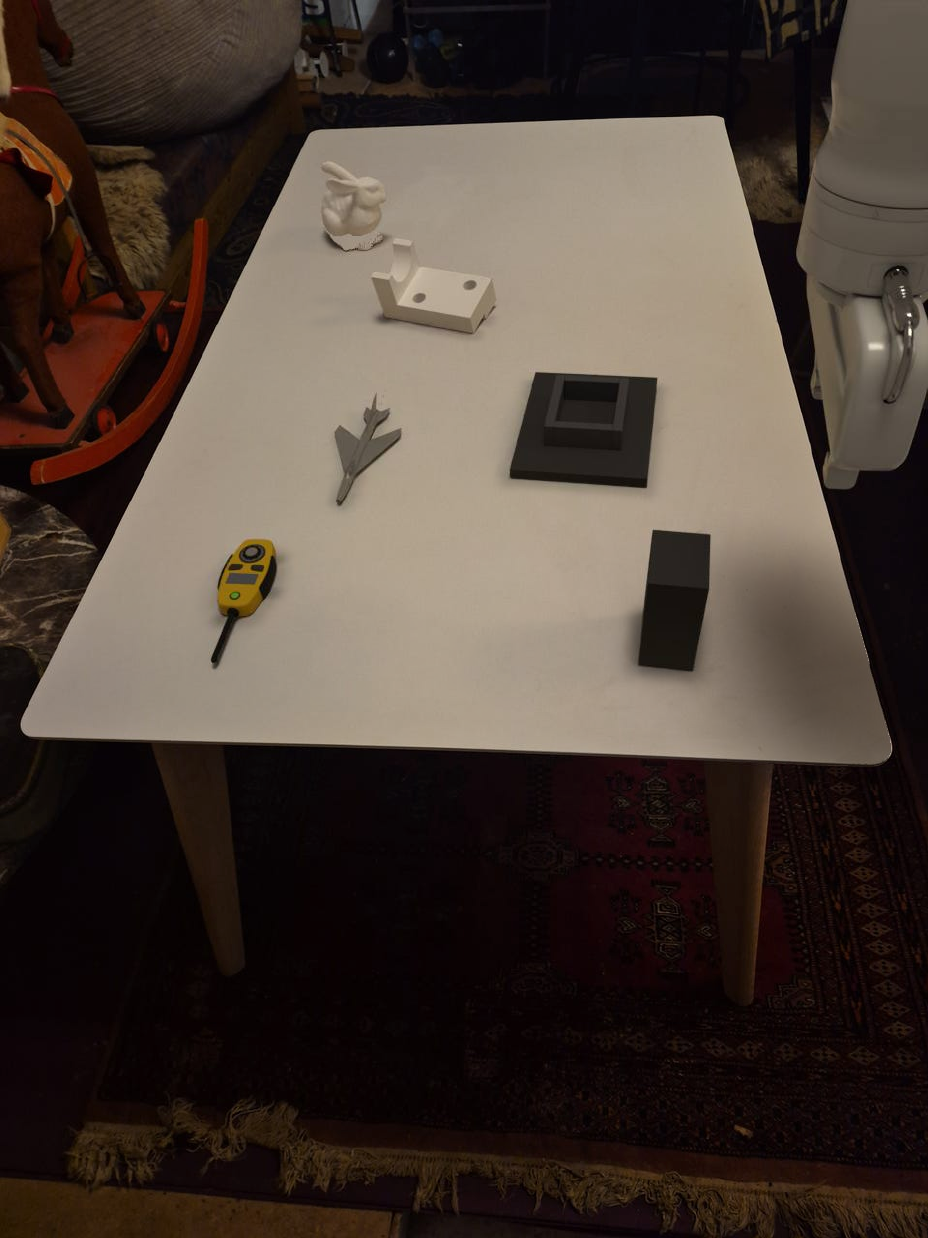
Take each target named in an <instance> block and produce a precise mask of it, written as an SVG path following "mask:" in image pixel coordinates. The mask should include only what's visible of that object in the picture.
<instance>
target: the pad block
mask: <svg viewBox="0 0 928 1238" xmlns="http://www.w3.org/2000/svg"><path fill="white" fill-rule="evenodd" d="M711 537H712V535H711V534H710V533H700V532H698V533H697V532H690V531H689V532H687V531H676V530H675V531H674V530H662V529H652V530H651V537H650V538H651V539H650V547H649V554H648V555H649V557H648V565H647V573H646V582H645V588H644V589H645V590H644V599H643V605H642V606H643V607H642V617H641V628H640V629H641V630H640V637H639V638H640V640H639V649H638V660H637V664H638V666H641V667H651V668H659V669H671V670H679V671H688V672H693V671H694V667H695V663H696V658H697V653H698V647H699V644H700V643H699V642H700V638H701V633H702V628H703V623H704V617H705V612H706V608H707V602H708V598H709V592H710V579H711V577H710V576H711V540H712V539H711Z"/></svg>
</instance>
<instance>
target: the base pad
mask: <svg viewBox="0 0 928 1238" xmlns="http://www.w3.org/2000/svg"><path fill="white" fill-rule="evenodd" d="M657 387H658V377H654V376H633V375H632V376H631V375H630V376H629V375H609V374H590V373H589V374H587V373H567V372H547V371H545V372H543V371H535V372H534V376H533V379H532V383H531V387H530V390H529V395H528V398H527V403H526V406H525V410H524V414H523V417H522V421H521V425H520V429H519V433H518V436H517V437H518V438H517V441H516V443H515V448H514V452H513V456H512V459H511V463H510V466H509V478H511V479H518V480H535V481H548V482H549V481H550V482H564V483H576V484H577V483H578V484H593V485H604V486H605V485H606V486H619V487H633V488H647V487H648V478H649V477H648V476H649V467H650V458H651V449H652V438H653V437H652V436H653V427H654V419H655V409H656V399H657V398H656V397H657V390H658V389H657Z"/></svg>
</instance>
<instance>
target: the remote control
mask: <svg viewBox="0 0 928 1238" xmlns="http://www.w3.org/2000/svg"><path fill="white" fill-rule="evenodd" d="M277 569H278V563H277V553H276V549H275V546H274V543H273V542H272V540H269V539H264V538H249V539H246V540H244V541H243V542H242V543H240V545H239V546H238V547H237V548H236V550H235V551H234V553H231V554H230V556H229V557H228V559H227V561H226V562H225V564H224V566H223V567H222V569H221V572H220V576H219V578H218V582H217V586H216V587H217V599H216V602H217V605H218V608H219V610H220V612H221V613H222V614H223V615H225V616H227V618H226V620H225V622H224V625H223V628H222V630H221V633H220V635H219V637H218V639H217V642H216V646H215V648H214V650H213V653H212V655H211V657H210V662H211V663H212V664H216V663H217V662H218V660H219V657H220V655H221V652H222V650H223V647H224V645H225V642H226V640H227V637H228V635H229V632H230V630H231V628H232V625H233V623H234V620H235V619H237V618H238V617H247V616H251V615H252V614H254V612H255V611H256V610H257V608H258V607H259V605H260V604H261V602H262V601H263V600H265V599H266V598H267V596H268V594H269V593H270V590H271V588H272V586H273V584H274V582H275V579H276V574H277Z"/></svg>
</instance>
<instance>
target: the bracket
mask: <svg viewBox="0 0 928 1238" xmlns="http://www.w3.org/2000/svg"><path fill="white" fill-rule="evenodd" d="M392 249H393V259H392V264H391V268H390V270H389V273H386V272H381V271H380V272H379V271H374V272H373V273H372V275H371V276H370V277H371V282H372V284H373V286H374V289H375V292H376V295H377V298H378V302H379V303H380V306H381V309H382V313H383V315H384V318H386V319H387V318H388V319H393V320H398V321H403V322H409V323H414V324H419V325H425V326H431V327H434V328H435V327H436V328H442V329H447V330H453V331H458V332H462V333H467V334H475V331H476V330H477V329H478V327H479V326H480V323H481V321H482V320H487V318H488V316H489V315H490V312H491V311H492V309H493V307H494V305H495V304H496V301H497V296H496V290H495V286H494V281H493V277H486V276H483V275H482V276H481V275H475V274H469V273H463V272H458V271H457V272H456V271H452V270H451V271H450V270H445V269H438V268H433V267H425V266H421V263H420V260H419V256H418V252H417V250H416V246H415V243H414V240H410V239H403V238H398V237H397V238H396V237H395V238H394V239H393V241H392Z"/></svg>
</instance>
